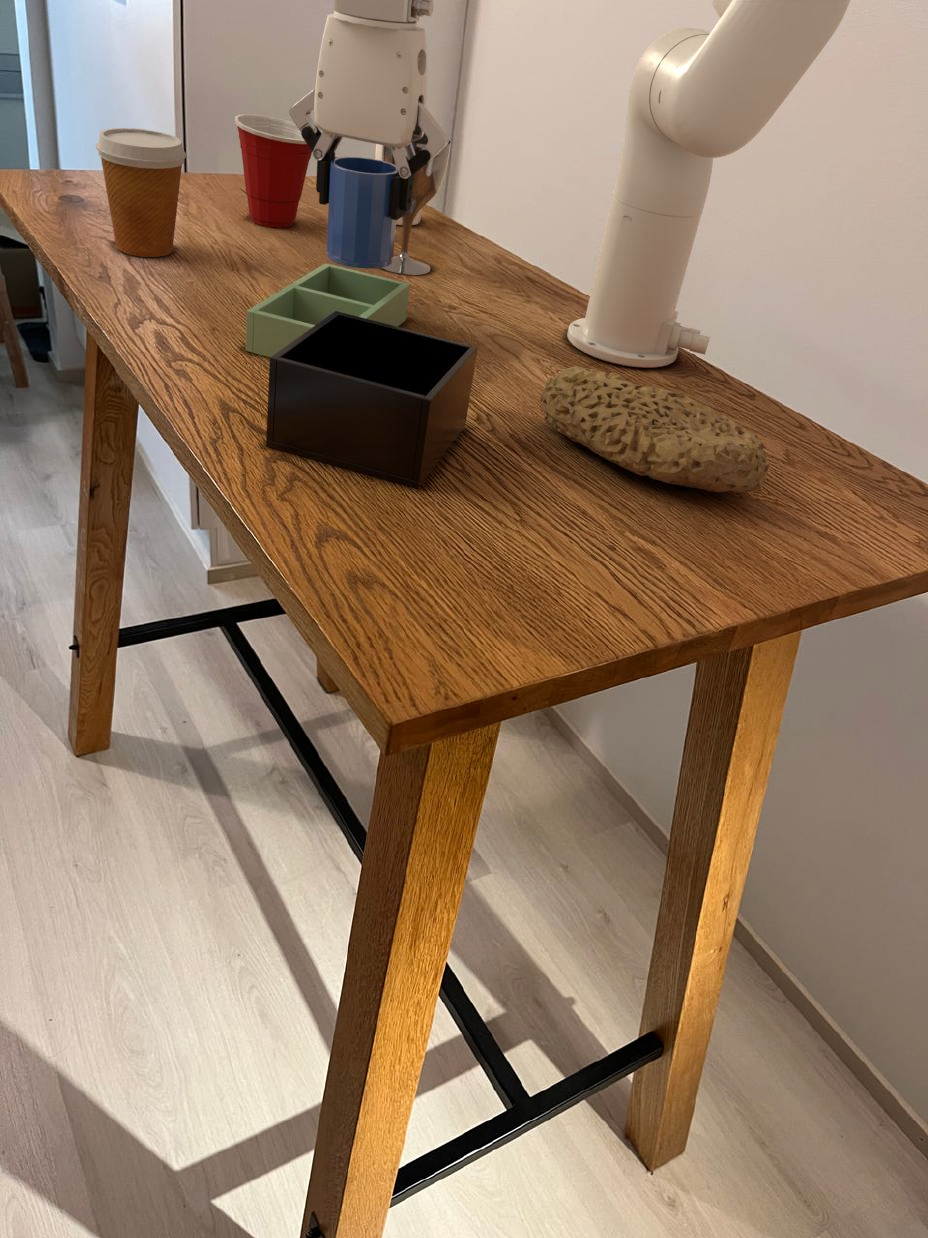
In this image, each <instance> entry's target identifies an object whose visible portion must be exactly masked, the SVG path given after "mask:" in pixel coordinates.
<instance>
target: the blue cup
mask: <svg viewBox="0 0 928 1238" xmlns="http://www.w3.org/2000/svg"><path fill="white" fill-rule="evenodd" d="M395 176H397V167H396V165H394V164H391V163H388V162H385V161H381V160H376V159H375V158H370V157H363V156H362V157H361V156H340V157H338V158H335V159H332V160H331V165H330V186H329V203H328V211H327V230H326V231H327V233H326V253H325V255H326V257H327V259H329V260H330V261H332V262H333V263H336V264H338V265H341V266H344V267H348V268H349V267H350V268H355V269H364V270H365V269H367V270H371V269H373V270H374V269H382V268H383V267H387V266H389V265H390V264H391V263H392V260H393V256H394V253H395V252H394V251H395V242H396V241H395V240H396V228H397V225H396V220H393V219H391V218H390V203H391V191H392V180H393V178H394V177H395Z"/></svg>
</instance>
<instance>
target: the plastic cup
mask: <svg viewBox="0 0 928 1238" xmlns="http://www.w3.org/2000/svg"><path fill="white" fill-rule="evenodd" d="M234 124H235V125H236V128H237V132H238V139H239V147H240V148H239V149H240V151H241V160H242V169H243V177H244V186H245V194H246V198H247V205H248V214H249V217H250V221H251V222H253V223H254V224H257V225H260V226H264V227H269V228H289V227H293V225H295V220H296V218H297V213H298V208H299V205H300V204H299V202H300V200H301V198H302V193H303V190H304V185H305V181H306V176H307V171H308V167H309V165H310V160H311V158H312V156H313V152H312V150H311V149H310V147H309V146H308V145H307V143H306V142H305V140H304V139H303V137H302V135H301V131H300V130H299V129H298V127H297V126H296V124H295V123H294V121H290V120H288V119H287V120H286V119H282V118H278V117H273V116H268V115H262V114H253V113H252V114H247V113H246V114H242V113H241V114H238V115H234Z"/></svg>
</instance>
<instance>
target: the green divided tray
mask: <svg viewBox="0 0 928 1238" xmlns="http://www.w3.org/2000/svg"><path fill="white" fill-rule="evenodd" d="M410 290H411V284H410V283H407V282H403V281H400V280H396V279H392V278H387V277H383V276H379V275H375V274H371V273H368V272H364V271H359V270H355V269H351V268H349V267H348V268H347V267H345V266H344V267H343V266H340V265H335V264H330V263H326V262H325V263H324V264H322V265H319V266H318V267H317V268H315V269H314V270H312V271H310V272H308V273H307V274H305V275H304V276H302V277H300V278H299V279H297V280H294V281H293V282H292V283H290V284H289V285H287V286H285V287H284V288H282V289H280V290H279V291H277V292H275V293H273V294H272V295H271V296H269V297H267V298H265V299H264V300H262V301H260V302H259V303H257V304H255V305H254V306H252V307H251V308H248V309H247V310H246V321H245V322H246V323H245V324H246V327H245V352H249V353H252V354H256V355H259V356H263V357H266V358H270V357H272V356H273V355H274V354H276V353H277V352H279V351H280V350H281V349H283V348H284V347H286V346H287V345H288V344H290V343H291V342H293V341H294V340H295V339H297V338H298V337H300V336H301V335H302V334H304V333H305V332H307V331H308V330H309V329H311V328H312V327H314V326H315V325H316V324H318V323H319V322H321V321H322V320H323V319H325V318H326V317H328V316H329V315H330V314H332V313H333V312H335V311H338V312H341V313H346V314H350V315H354V316H358V317H361V318H365V319H369V320H373V321H377V322H381V323H385V324H389V325H393V326H397V327H400V325H402V324H403V323H404V322H406V320H407V314H408V305H409V298H410Z"/></svg>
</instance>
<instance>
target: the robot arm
mask: <svg viewBox="0 0 928 1238" xmlns="http://www.w3.org/2000/svg"><path fill="white" fill-rule="evenodd" d="M850 2H851V0H711V3H712V6H713V8H714V10H715V12H716V14H717V15H718V17H719V19H718V21H717V22H716V24H715V25H714V27H713V28H712V30H711V31H707V30H704V29H700V28H695V27H681V28H676V29H673V30H670V31H667V32H665V33H662V35H660V36H658V37H657V38H656V39H655V40H653V41H652V42H651V43H650V44H649V46H647V47H646V49H645V50H644V51H643V53H642V54H641V56H640V58H639V59H638V62H637V64H636V65H635V69H634V70H633V74H632V77H631V81H630V85H629V90H628V95H627V96H628V97H627V103H626V104H627V107H626V115H625V125H624V132H623V134H624V135H623V141H622V148H621V154H620V159H619V164H618V169H617V173H616V178H615V183H614V188H613V192H612V196H611V201H610V205H609V209H608V213H607V217H606V223H605V227H604V230H603V231H604V232H603V235H602V236H603V237H602V241H601V245H600V250H599V254H598V259H597V263H596V268H595V272H594V276H593V279H592V280H593V281H592V286H591V290H590V294H589V298H588V302H587V307H586V312H585V317H582V318H579V319H575V320H574V321H572V322H570V323H569V326H568V329H567V335H566V336H567V339H568V341H569V342H570V343H571V344H572V345H573V347H575V348H576V349H578V350H579V351H581V352H582V353H584V354H587V355H589V356H591V357H593V358H596V359H598V360H601V361H604V362H608V363H612V364H616V365H620V366H624V367H625V366H626V367H632V368H644V369H645V368H646V369H647V368H649V369H650V368H653V369H654V368H661V367H665V366H668V365H670V364H673V363H674V362H675V361H676V360H677V357H678V353H679V348H681V349H684V350H688V351H690V352H693V353H696V354H700V355H706V352H707V349H708V346H709V342H710V340H711V337H710V336H707V335H705V334H701V332H702V330H701V329H698V328H697V329H696V328H692V327H690V328H689V327H687V326H682V325H681V324H682V323H681V322H677V319H678V316H679V311H678V310H676V308H677V305H678V301H679V297H680V293H681V290H682V286H683V283H684V278H685V275H686V272H687V269H688V264H689V261H690V257H691V254H692V250H693V246H694V243H695V240H696V235H697V232H698V229H699V225H700V222H701V217H702V214H703V212H704V207H705V204H706V200H707V197H708V192H709V187H710V184H711V176H712V171H713V163H714V159H715V158H716V159H717V158H722V157H726V156H729V155H731V154H734V153H735V152H737V151H739V150H740V149H743V148H744V147H745V146H747V144H749V143H750V142H751V141H752V140H753V139H754V138H755V137H756V136H757V135H758V134H759V133H760V132H761V131H762V130H763V128H764V127H765V126H766V125H767V124H768V122H769V121H770V120H771V118H773V116H774V115H775V113H776V112H777V110H778V109H779V108H780V107H781V105H782V104H783V103H784V102H785V100H786V99H787V98H788V97H789V95H790V93H791V92H792V91H793V90H794V88H795V87H796V85H797V84H798V83H799V82H800V80H801V79H802V78H803V76H804V75H805V74H806V72H807V71H808V69H810V67H811V66H812V64H813V63H814V61H815V60H816V59H817V58H818V56H819V55H820V54H821V52H822V51H823V49H825V47H826V45H827V44H828V42H830V40H831V38H832V37H833V36H834V34H835V32H836V31H837V29H838V27H839V26H840V24H841V23H842V20H843V19H844V17H845V15H846V12H847V10H848V7H849V5H850ZM333 5H334V6H333V7H334V10H333V13H330V14H329V13H328V14H327V17H326V21H325V25H324V29H323V33H322V38H321V42H320V43H321V44H320V48H319V49H320V50H319V55H318V61H317V68H316V69H317V70H316V76H315V77H316V78H315V88H313V89H312V90H311V91H310V92H308V93H307V94H306V95H305V96H304V97H302V98H301V99H300V100H299V101H297V102H296V103H295V104H294V105H292V106H291V107H290V108H289V111H288V113H289V116H290V118H291V120H292V122H293V123H295V124H296V126H297V127H298V129H299V130H300V131H301V135H302V137H303V139H304V140H305V142H306V143H307V145H308V146H309V147H310V149H311V150H312V157H313V159H314V160H315V161H316V181H315V182H316V183H315V184H316V185H315V191H316V192H317V193H319V194H318V203H319V205H323V206H326V205H329V186H330V165H331V160H332V159H335V158H339V157H338V156H336V150H337V149H338V147H339V145H340V143H341V141H342V140H343V138H346V139H349V140H350V139H351V140H356V141H359V142H360V141H361V142H364V143H365V142H366V143H370V144H375V145H376V144H380V145H385V146H390V149H391V152H392V155H393V158H394V161H395V164H396V167H397V176H395V177H394V178H393V180H392V191H391V203H390V218H391V219H393V220H398V219H400V218H401V217H403V216H404V215H405V214H406V211H409V210H410V207H411V202H412V191H413V180H414V174H415V173H417V172H418V171H419V170H420V169H421V168H423V167H424V166H425V165H426V164H427V163H429V162H430V161H431V160H432V159H433V158H434V157H435V156H436V155H437V154H438V153H439V152H440V151H441V150H442V149H443V148H444V147H445V146H446V145H447V144H448V142H449V140H450V139H449V136H448V135H447V134H446V133H445V131H444V129H443V128H442V127H441V126H440V124H439V123H438V122H437V121H436V119H435V118H434V116H433V115H432V114H431V112H430V111H429V110H428V48H427V47H428V46H427V45H428V44H427V35H426V29H425V28H424V27H419V26H417V25H418V24H417V23H418V22H419V21H420V19H421V17H424V16H427V17H432V15H433V11H434V0H334V4H333ZM312 112H313V116H314V117H313V118H314V121H313V119H312V117H311V113H312ZM424 133H425V135H426V136H427V138H428V143H427V144H426V145H425V147H424V148H423V149H422V150H421V151H419V152H418V153H417V154H416V155H415V152H414V149H413V145H412V142H411V141H417V140H419V139H421V138H422V137H423V135H424Z"/></svg>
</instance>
